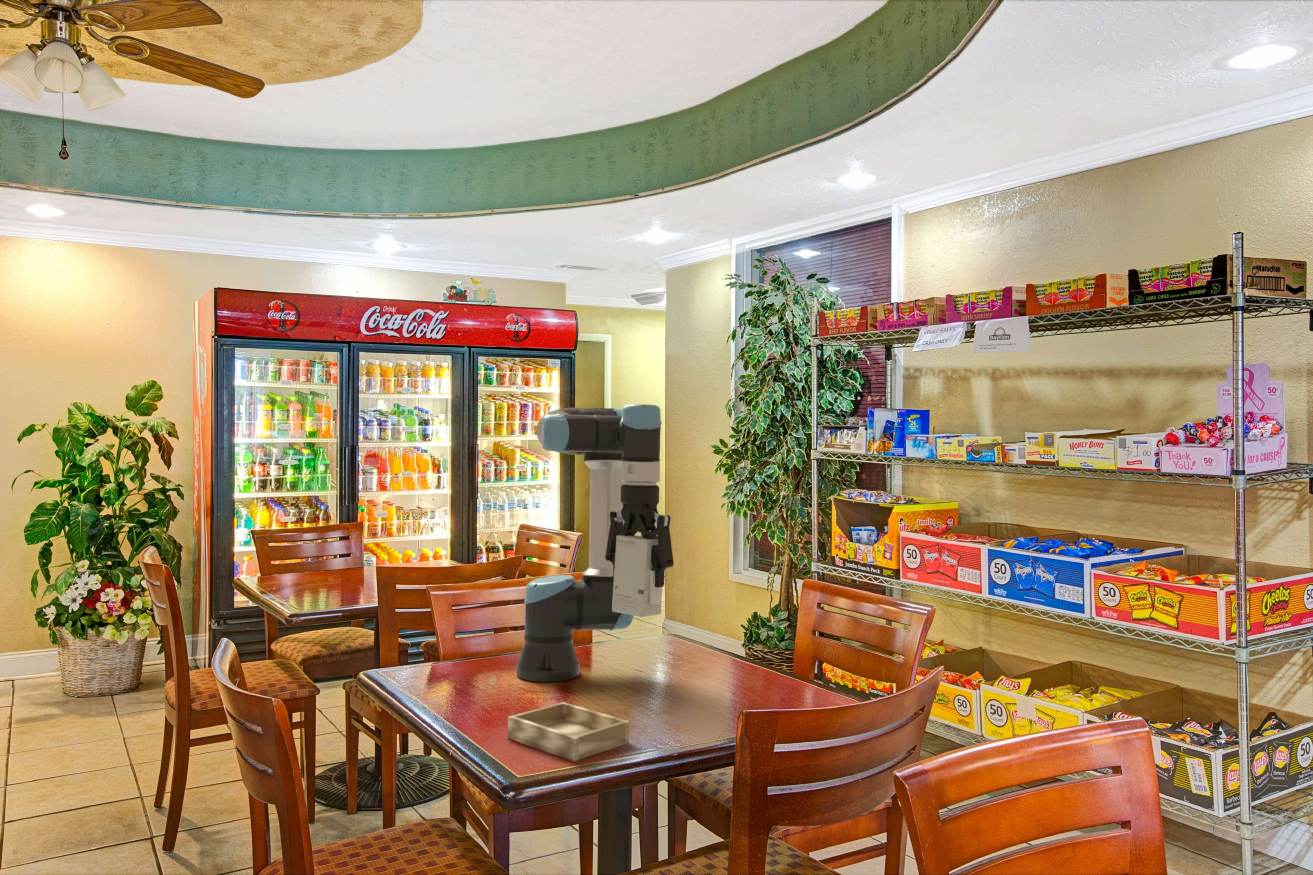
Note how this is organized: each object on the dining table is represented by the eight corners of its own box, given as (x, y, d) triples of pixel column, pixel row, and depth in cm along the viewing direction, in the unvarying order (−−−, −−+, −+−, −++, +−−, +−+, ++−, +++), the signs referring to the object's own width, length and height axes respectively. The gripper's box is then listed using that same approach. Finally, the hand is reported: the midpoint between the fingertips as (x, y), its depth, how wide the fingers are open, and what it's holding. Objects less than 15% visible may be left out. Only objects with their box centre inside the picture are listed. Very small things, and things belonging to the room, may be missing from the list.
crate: (507, 737, 167) (508, 716, 167) (562, 721, 178) (563, 701, 178) (574, 761, 155) (574, 738, 155) (628, 742, 166) (629, 721, 166)
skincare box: (611, 612, 173) (612, 535, 173) (631, 608, 178) (633, 533, 178) (644, 618, 168) (645, 538, 168) (664, 613, 172) (665, 536, 173)
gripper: (587, 481, 177) (585, 596, 177) (669, 486, 163) (667, 610, 163) (613, 481, 183) (611, 592, 182) (694, 485, 169) (692, 605, 169)
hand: (637, 600), depth 173 cm, fingers closed on skincare box, 8 cm apart
